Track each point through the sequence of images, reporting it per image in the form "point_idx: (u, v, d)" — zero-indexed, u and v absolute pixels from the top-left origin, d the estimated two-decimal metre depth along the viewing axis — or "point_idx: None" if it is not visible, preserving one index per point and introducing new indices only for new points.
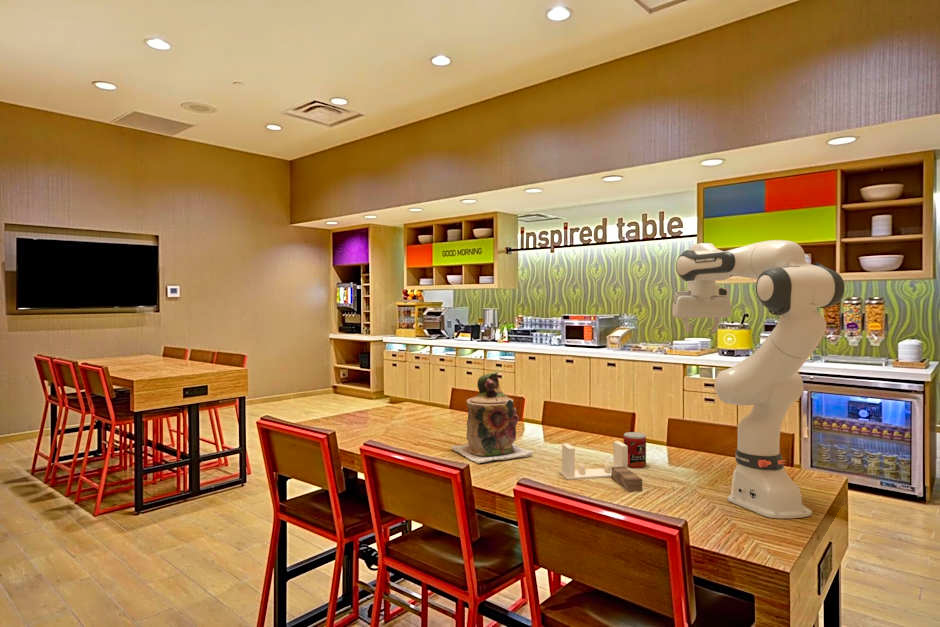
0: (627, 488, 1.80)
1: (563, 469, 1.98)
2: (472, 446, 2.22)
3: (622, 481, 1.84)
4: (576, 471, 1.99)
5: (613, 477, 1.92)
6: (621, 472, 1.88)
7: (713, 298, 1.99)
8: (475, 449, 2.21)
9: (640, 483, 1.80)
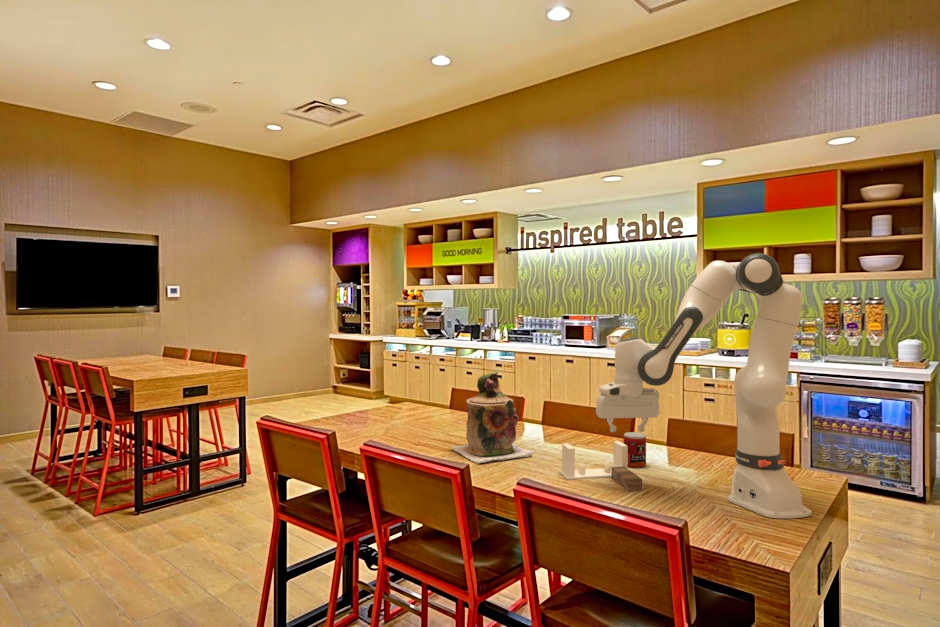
0: (627, 488, 1.80)
1: (563, 469, 1.98)
2: (472, 447, 2.22)
3: (622, 481, 1.84)
4: (576, 471, 1.99)
5: (613, 477, 1.92)
6: (621, 472, 1.88)
7: None
8: (475, 449, 2.20)
9: (640, 483, 1.80)
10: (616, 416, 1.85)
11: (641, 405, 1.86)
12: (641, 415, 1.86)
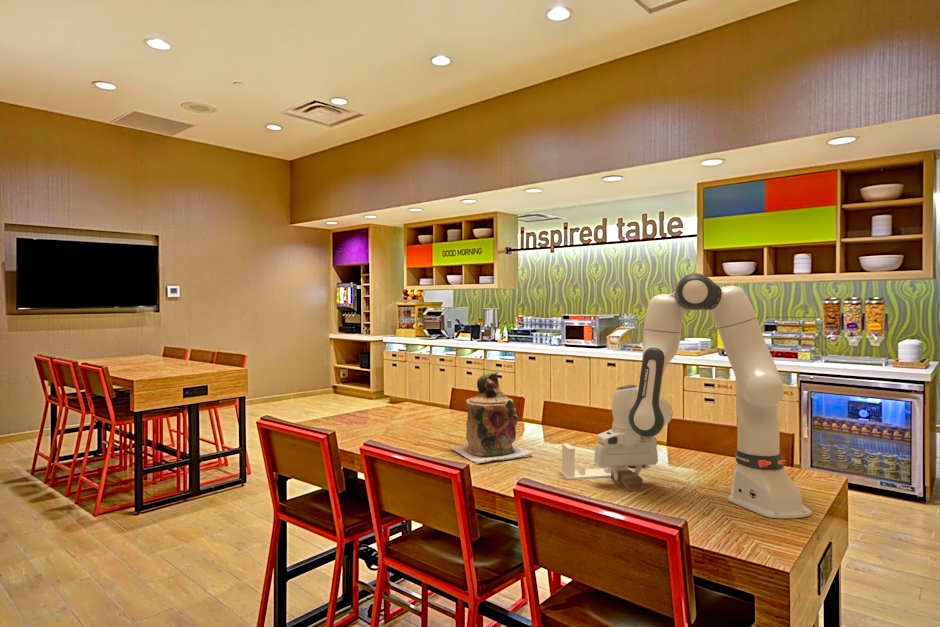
0: (627, 487, 1.80)
1: (563, 469, 1.98)
2: (472, 447, 2.22)
3: (622, 481, 1.84)
4: (576, 471, 1.99)
5: (613, 476, 1.92)
6: (621, 471, 1.88)
7: None
8: (475, 449, 2.20)
9: (640, 482, 1.80)
10: (615, 465, 1.84)
11: (640, 452, 1.86)
12: (640, 463, 1.86)
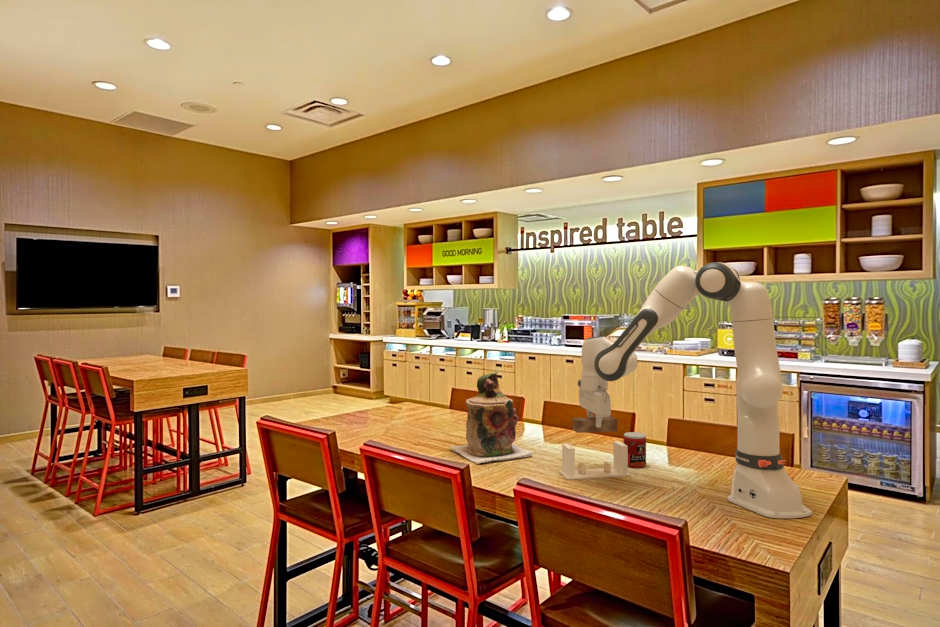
0: None
1: (563, 469, 1.98)
2: (472, 447, 2.21)
3: None
4: (576, 471, 1.99)
5: None
6: None
7: None
8: (474, 449, 2.20)
9: (576, 424, 1.95)
10: (584, 407, 2.02)
11: (594, 401, 1.93)
12: (593, 411, 1.93)
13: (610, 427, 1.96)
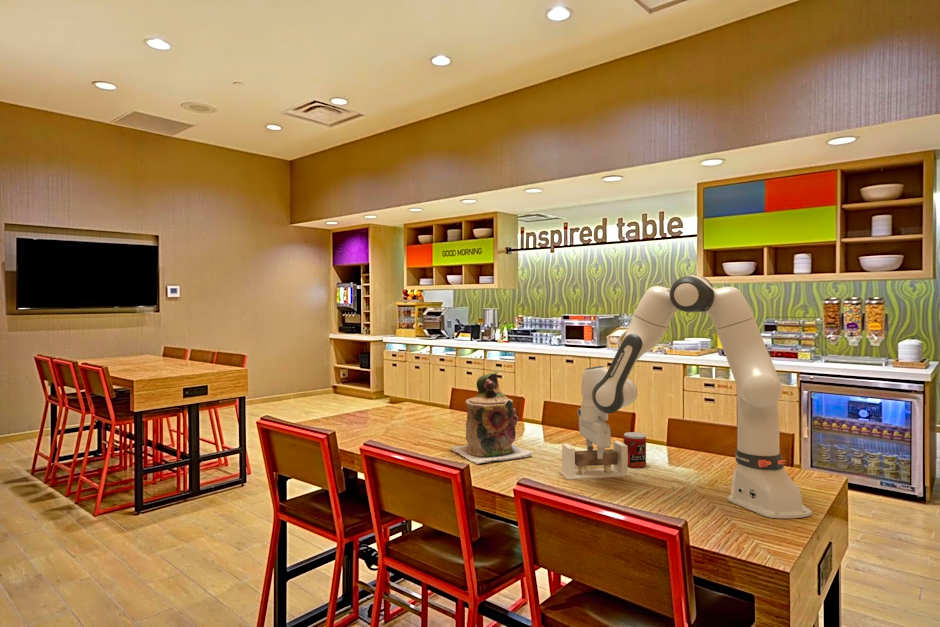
0: None
1: (563, 469, 1.98)
2: (471, 447, 2.21)
3: None
4: (576, 471, 1.99)
5: None
6: (596, 450, 1.99)
7: None
8: (474, 449, 2.20)
9: (576, 457, 1.95)
10: (585, 436, 2.02)
11: (594, 432, 1.93)
12: (593, 441, 1.93)
13: (610, 460, 1.96)
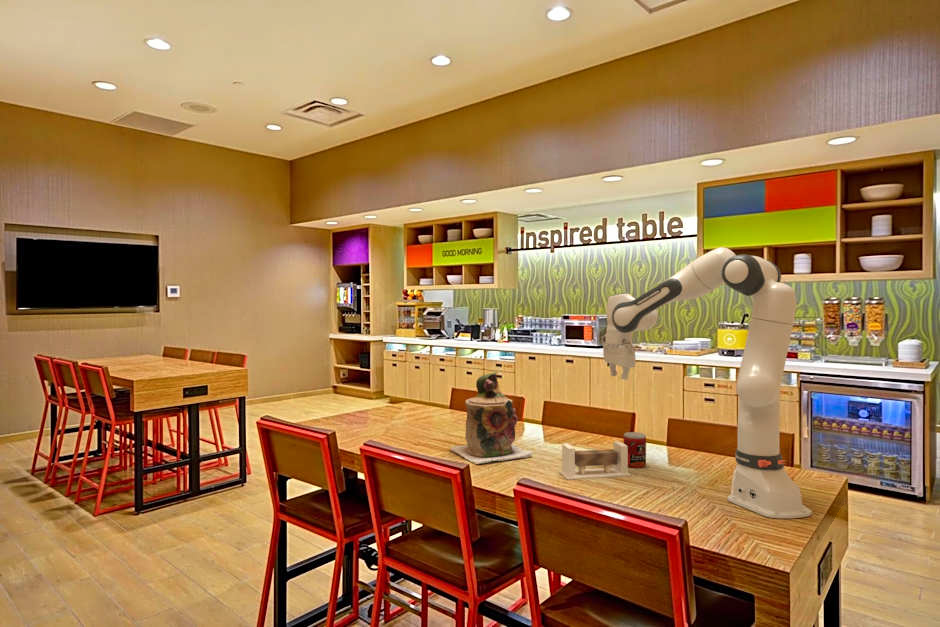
0: None
1: (563, 469, 1.98)
2: (471, 447, 2.21)
3: None
4: (576, 471, 1.99)
5: None
6: (596, 450, 1.99)
7: None
8: (474, 450, 2.19)
9: (576, 457, 1.95)
10: (609, 361, 2.13)
11: (619, 354, 2.05)
12: (618, 363, 2.05)
13: (610, 460, 1.96)
